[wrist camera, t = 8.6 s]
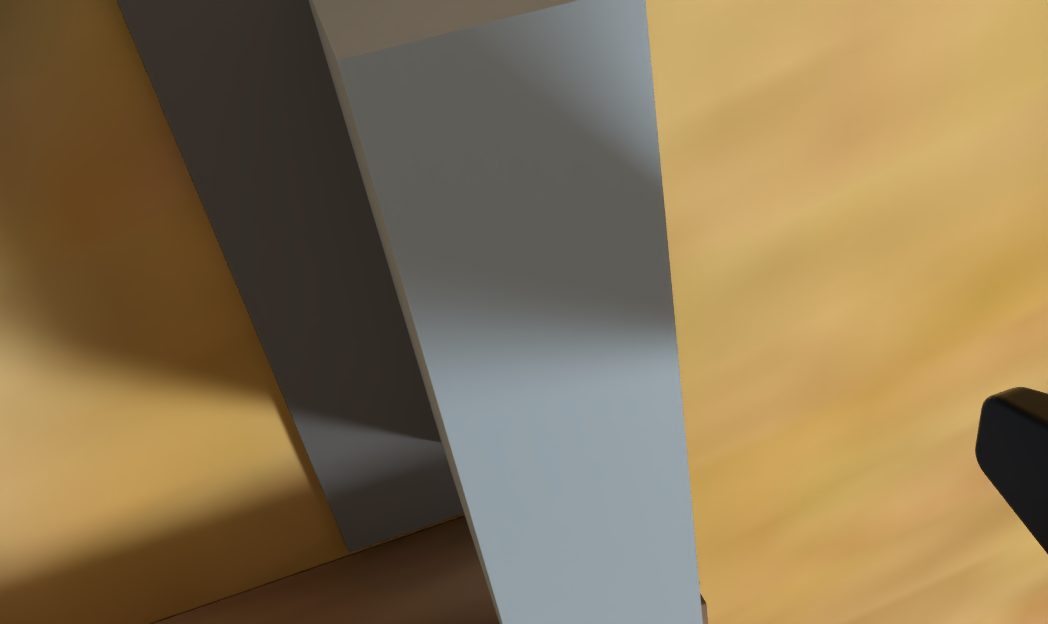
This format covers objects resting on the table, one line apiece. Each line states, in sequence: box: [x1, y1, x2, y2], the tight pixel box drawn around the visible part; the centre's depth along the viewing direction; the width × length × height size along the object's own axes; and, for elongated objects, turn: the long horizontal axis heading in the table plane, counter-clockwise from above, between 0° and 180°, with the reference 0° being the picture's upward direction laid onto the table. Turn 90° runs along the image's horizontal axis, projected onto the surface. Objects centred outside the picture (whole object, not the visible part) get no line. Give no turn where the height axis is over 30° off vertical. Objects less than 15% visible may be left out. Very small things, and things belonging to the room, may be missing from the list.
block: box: [309, 0, 703, 624], centre depth 14 cm, size 11×3×8 cm, turn 10°
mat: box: [117, 0, 464, 553], centre depth 17 cm, size 16×9×1 cm, turn 10°
